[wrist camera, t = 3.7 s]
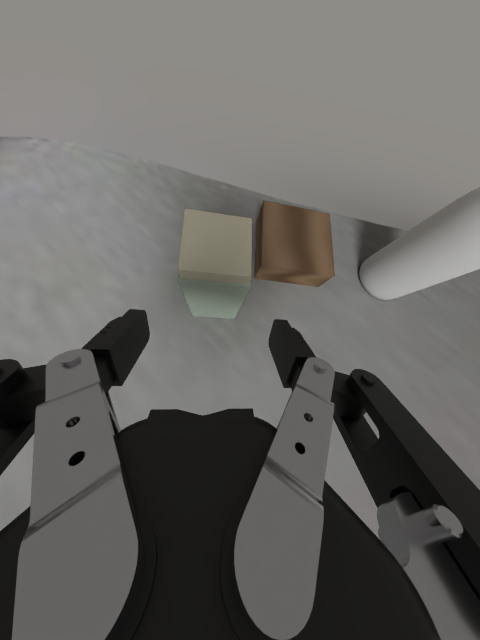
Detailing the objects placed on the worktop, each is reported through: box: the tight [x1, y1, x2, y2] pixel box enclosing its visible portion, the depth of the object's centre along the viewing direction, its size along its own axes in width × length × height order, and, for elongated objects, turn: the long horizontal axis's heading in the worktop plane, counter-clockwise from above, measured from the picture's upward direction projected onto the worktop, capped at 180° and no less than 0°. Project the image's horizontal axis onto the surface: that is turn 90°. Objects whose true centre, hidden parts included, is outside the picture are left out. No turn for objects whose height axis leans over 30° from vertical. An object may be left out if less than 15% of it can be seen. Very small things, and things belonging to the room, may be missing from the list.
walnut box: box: [254, 201, 335, 287], centre depth 25 cm, size 10×10×4 cm
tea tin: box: [178, 208, 252, 319], centre depth 18 cm, size 5×5×11 cm
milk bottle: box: [359, 187, 480, 300], centre depth 19 cm, size 8×8×20 cm
